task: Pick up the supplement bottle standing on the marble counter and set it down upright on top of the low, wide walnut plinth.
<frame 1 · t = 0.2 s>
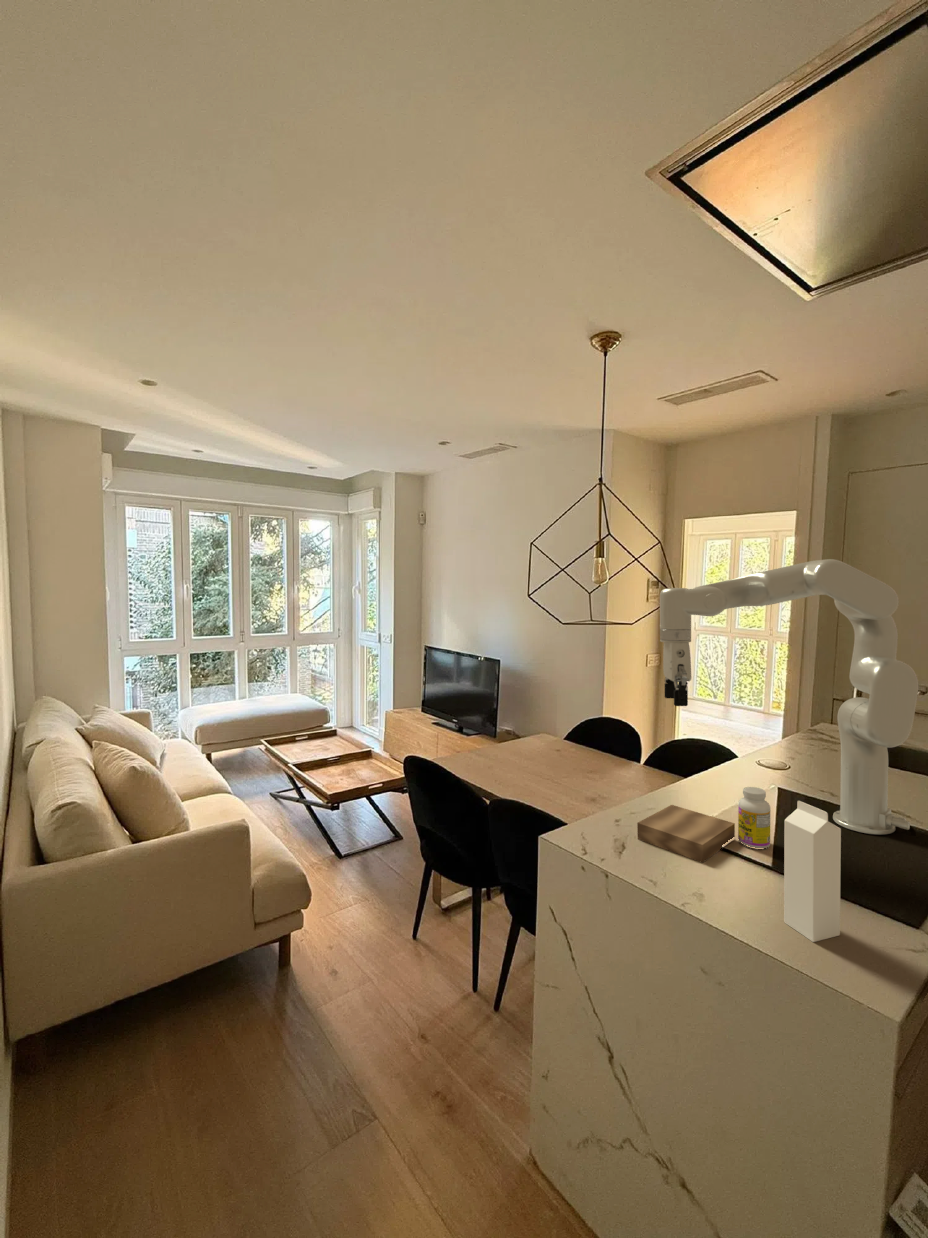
hand: (675, 701, 143), 31 cm above the countertop, tool pointing down, fingers open, 9 cm apart
plinth: (685, 839, 132), on the countertop
supplement bottle: (754, 845, 129), on the countertop
milk: (811, 930, 97), on the countertop
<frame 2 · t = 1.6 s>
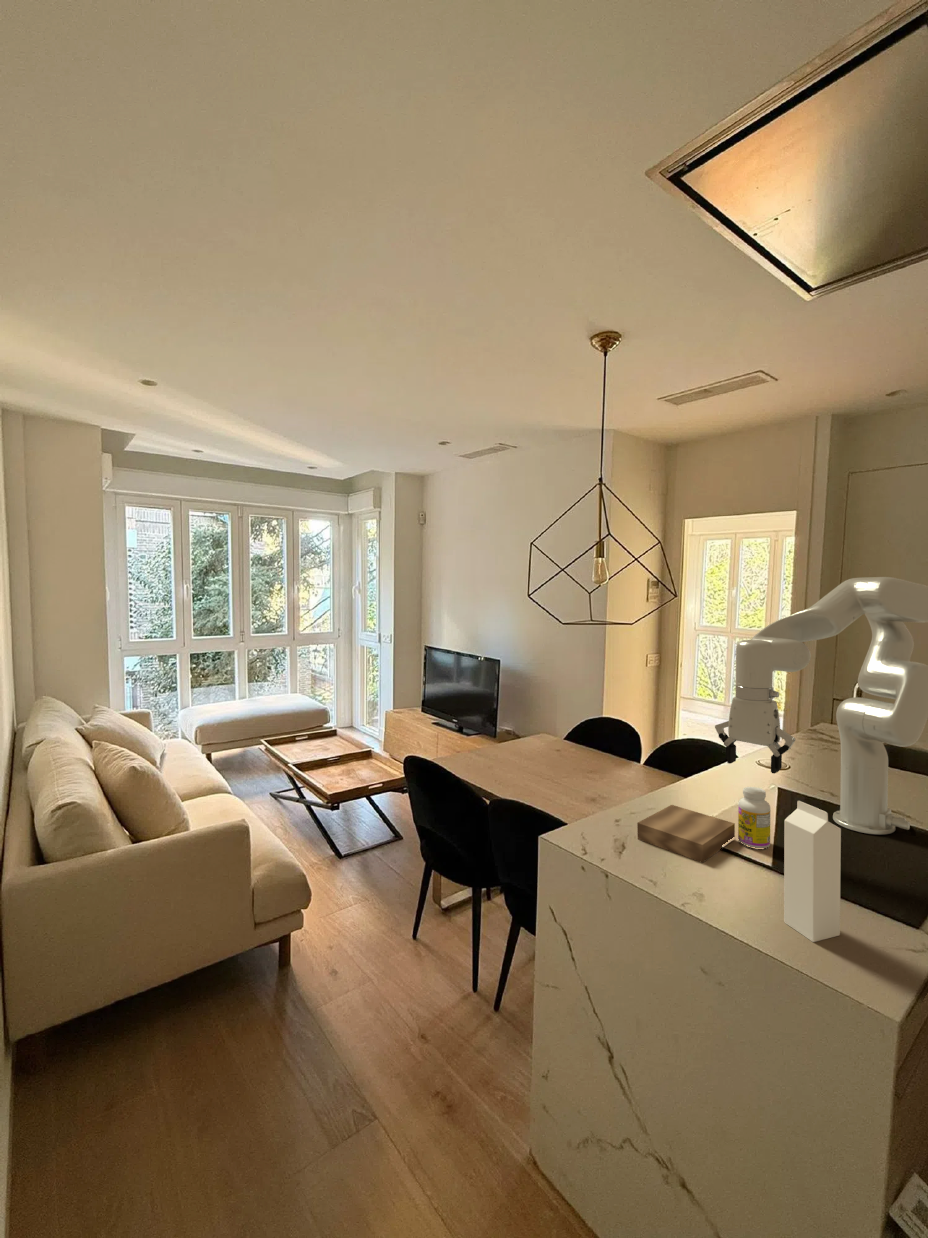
hand: (752, 767, 128), 18 cm above the countertop, tool pointing down, fingers open, 9 cm apart
nothing on the countertop moved.
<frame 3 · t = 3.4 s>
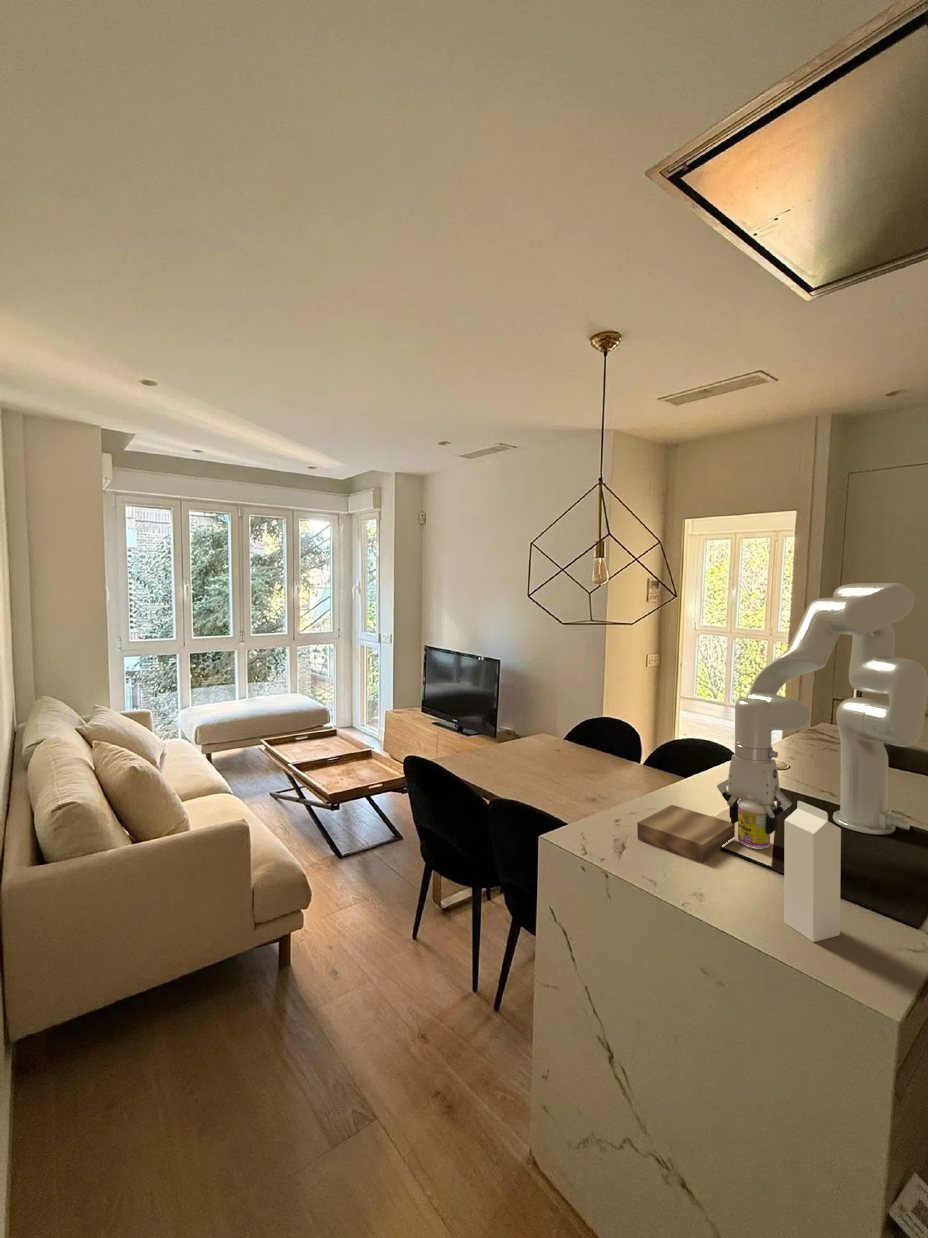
hand: (752, 826, 129), 4 cm above the countertop, tool pointing down, fingers open, 7 cm apart
supplement bottle: (753, 845, 129), on the countertop, touching gripper
everything else where it was.
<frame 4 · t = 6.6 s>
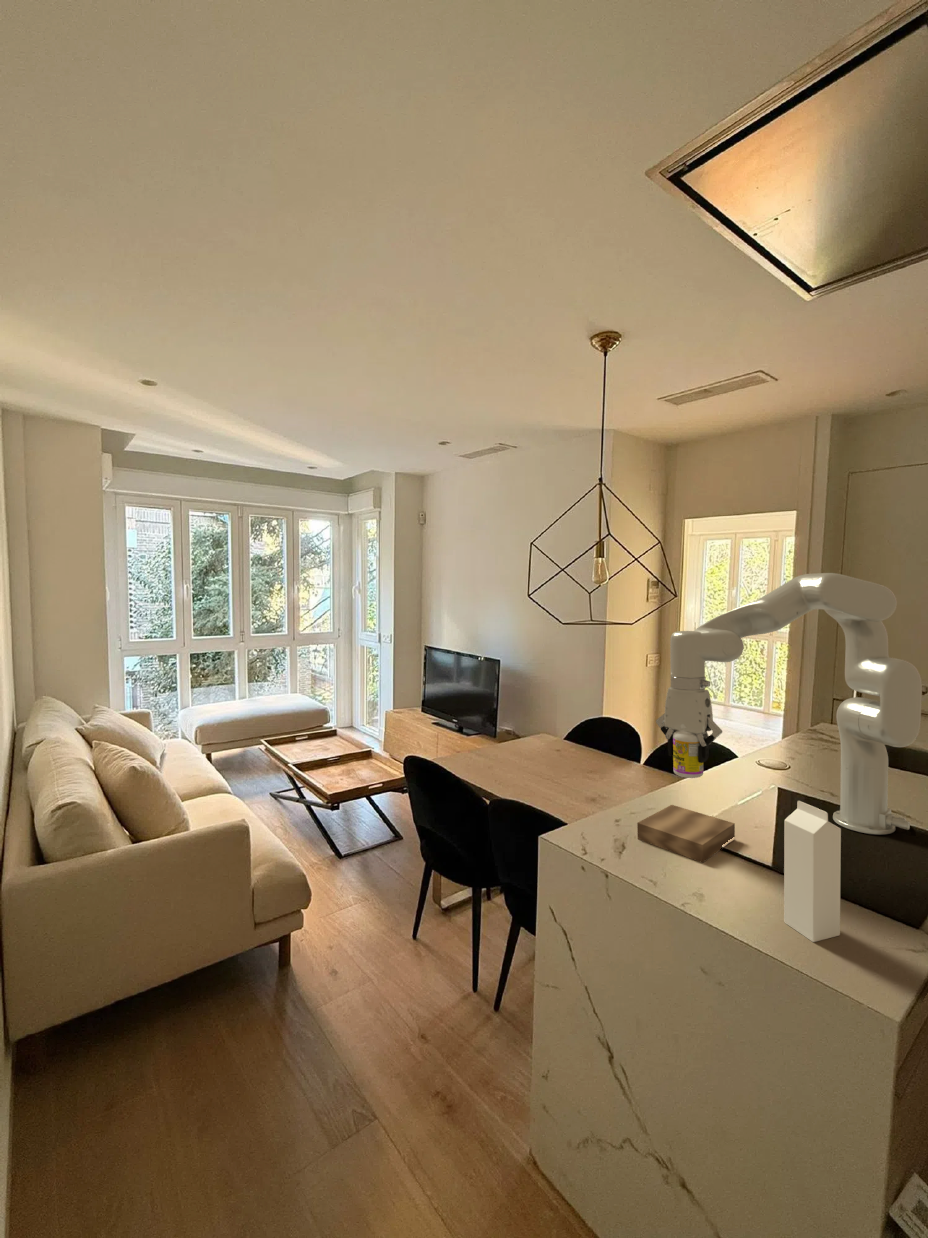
hand: (687, 757, 131), 20 cm above the countertop, tool pointing down, fingers closed on supplement bottle, 6 cm apart
supplement bottle: (688, 775, 132), point 16 cm above the countertop, touching gripper
everything else where it was.
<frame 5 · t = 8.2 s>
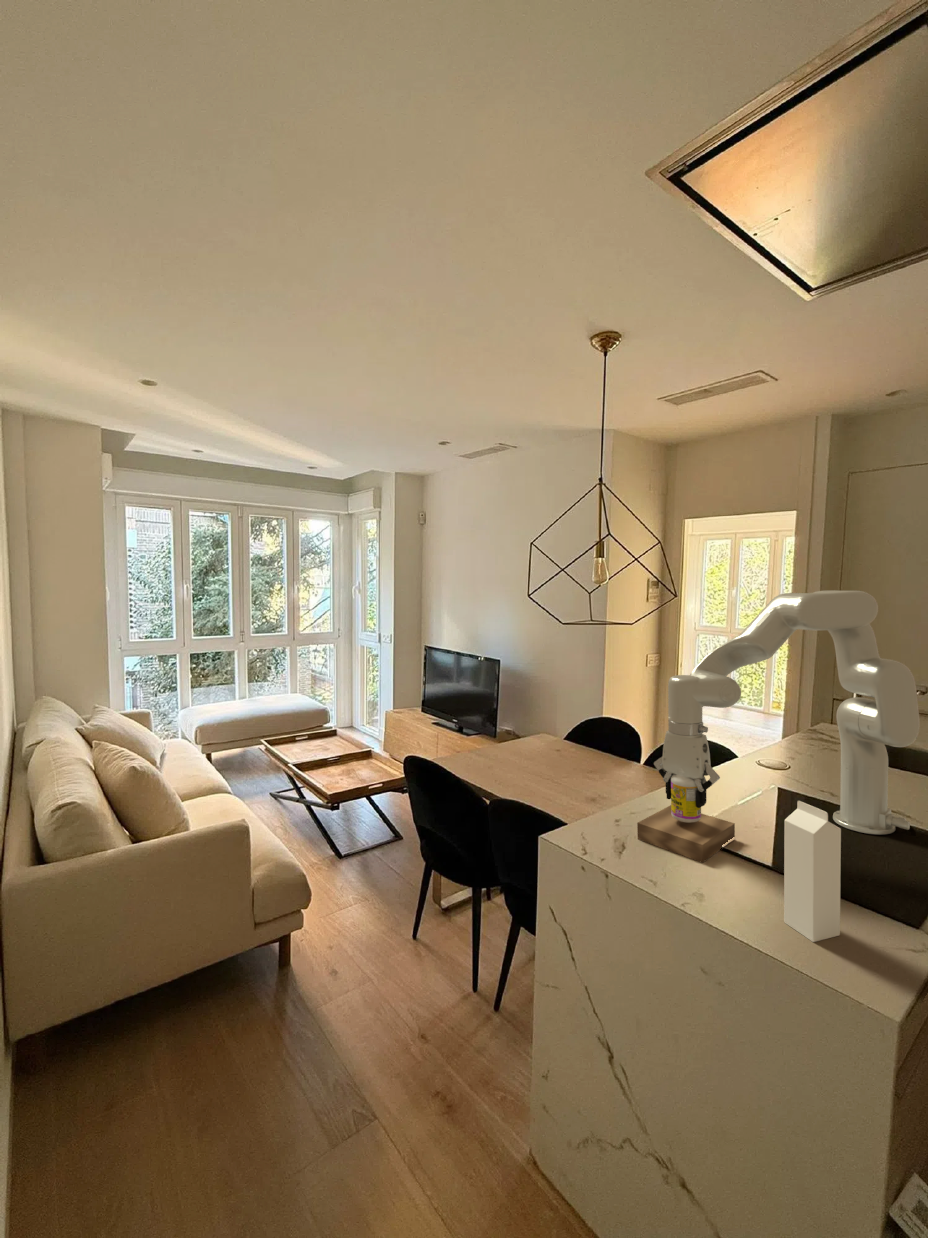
hand: (685, 801, 132), 9 cm above the countertop, tool pointing down, fingers closed on supplement bottle, 6 cm apart
supplement bottle: (686, 818, 132), point 5 cm above the countertop, touching gripper
everything else where it was.
when the fingers open (8 cm above the countertop, at t = 9.6 s): supplement bottle stays where it is, resting on plinth.
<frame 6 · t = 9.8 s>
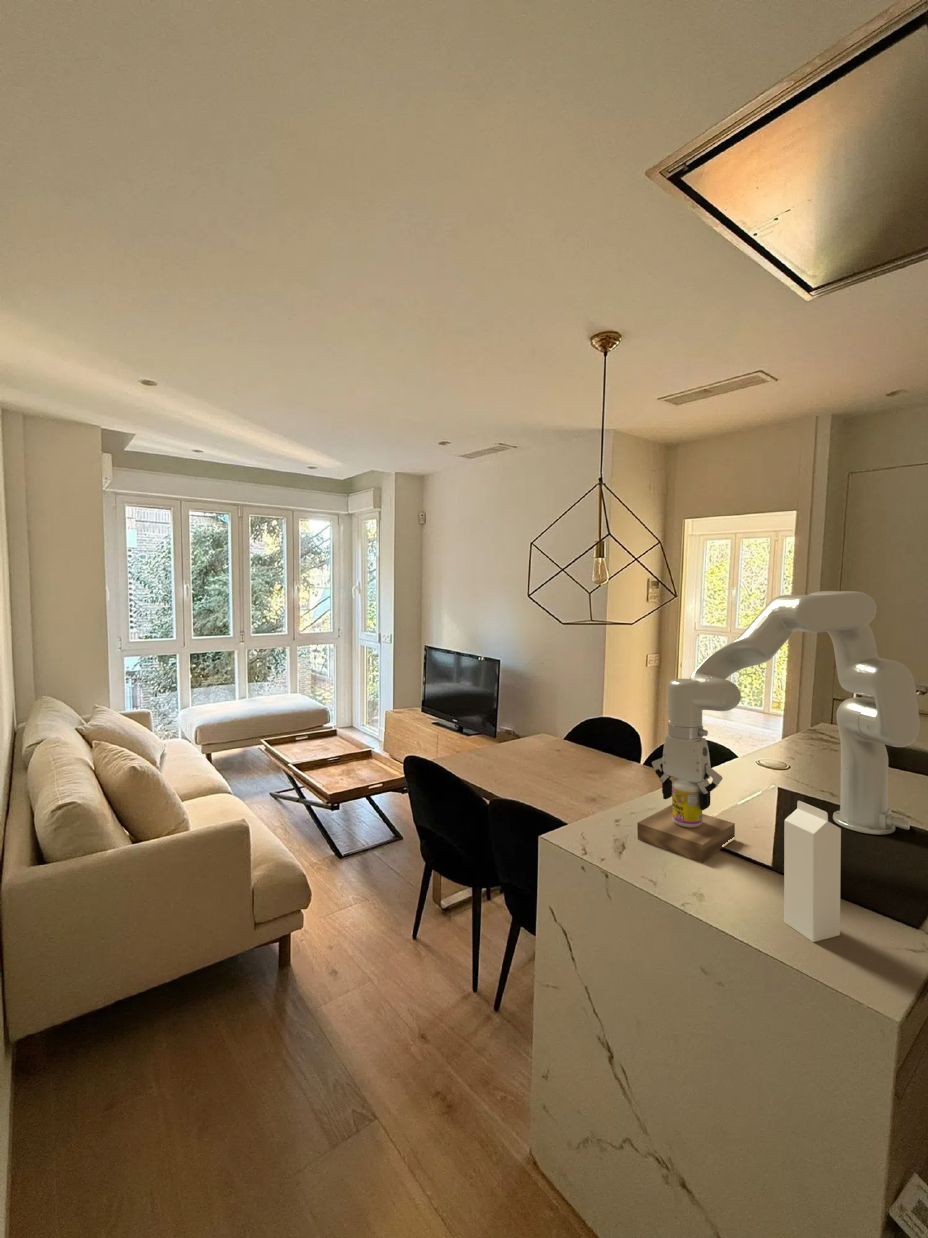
hand: (685, 802, 132), 9 cm above the countertop, tool pointing down, fingers open, 8 cm apart
supplement bottle: (687, 823, 132), point 4 cm above the countertop, touching plinth
everything else where it was.
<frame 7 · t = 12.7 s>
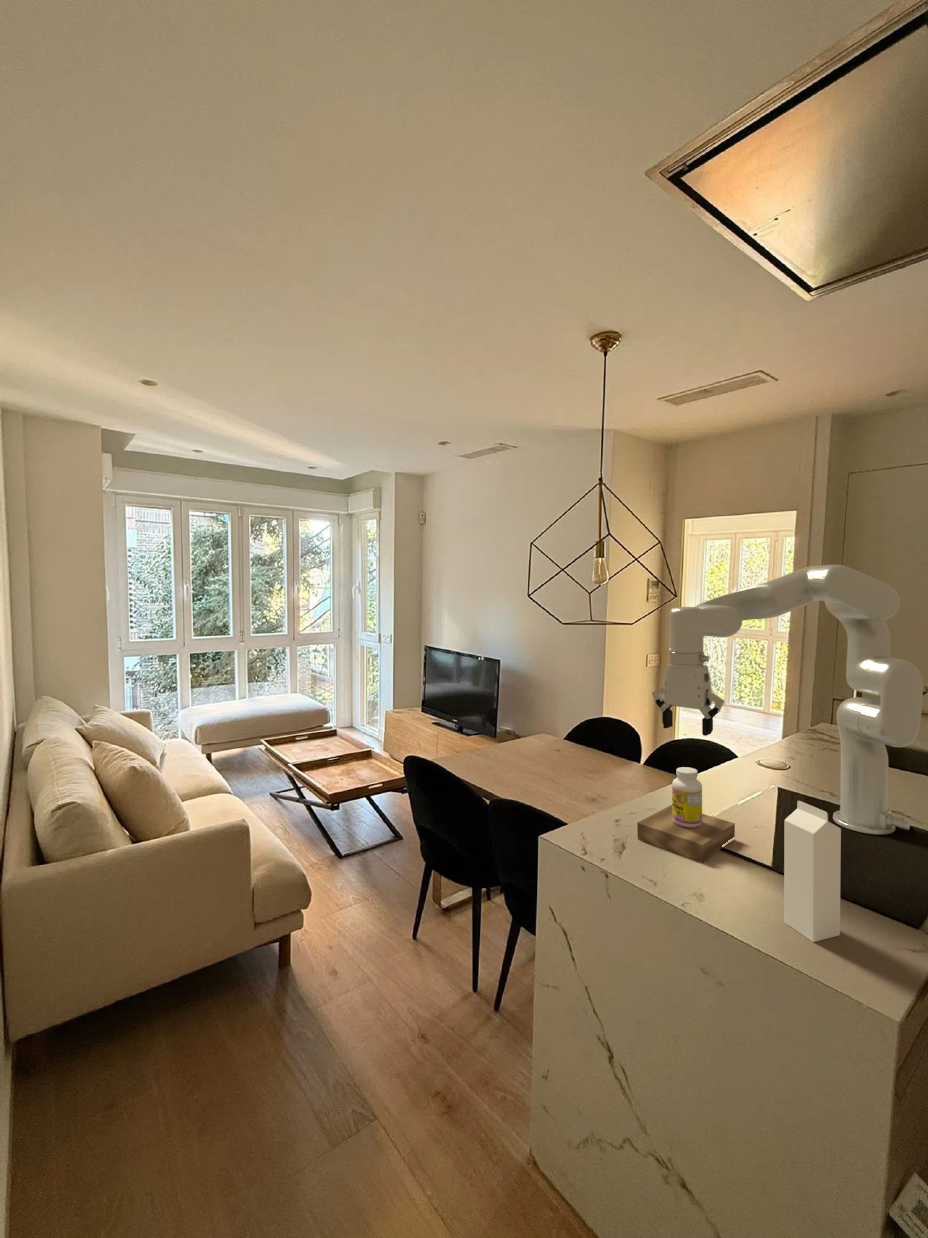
hand: (686, 730, 131), 26 cm above the countertop, tool pointing down, fingers open, 9 cm apart
nothing on the countertop moved.
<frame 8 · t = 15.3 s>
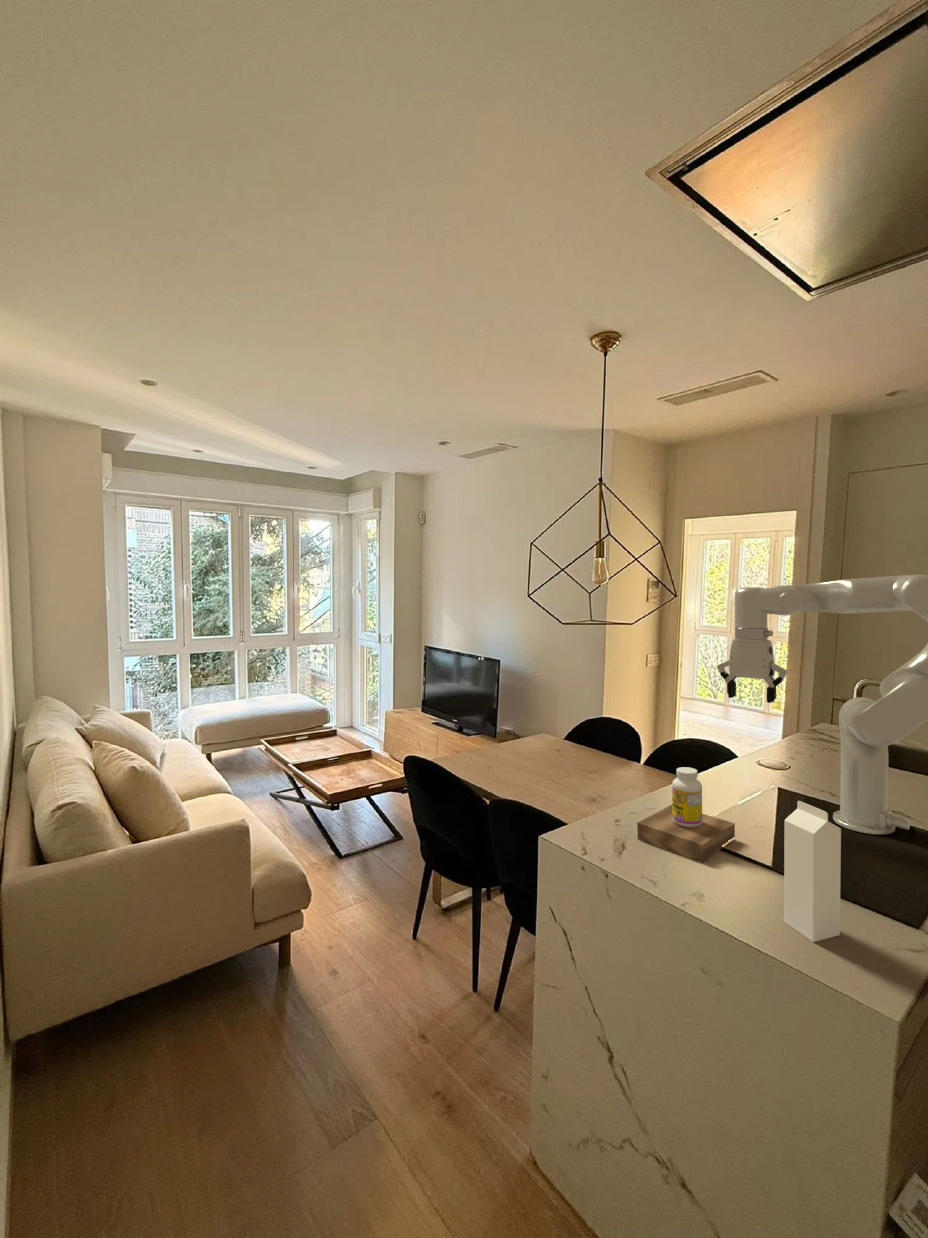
hand: (750, 699, 145), 30 cm above the countertop, tool pointing down, fingers open, 9 cm apart
nothing on the countertop moved.
at the end: supplement bottle inside the target area on the plinth (0.4 cm from its centre), point 3.8 cm above the plinth's base; supplement bottle tilted 0°; the gripper is holding nothing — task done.
